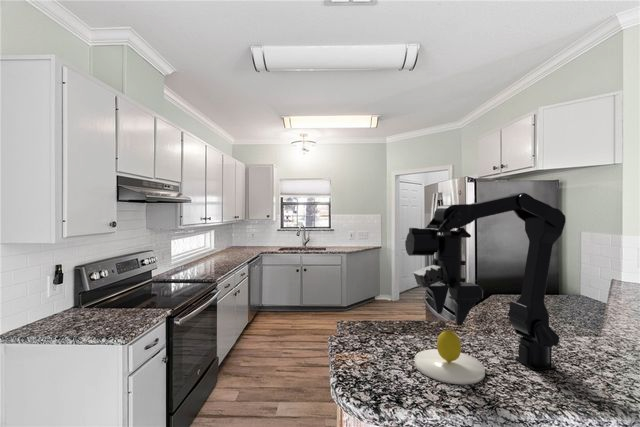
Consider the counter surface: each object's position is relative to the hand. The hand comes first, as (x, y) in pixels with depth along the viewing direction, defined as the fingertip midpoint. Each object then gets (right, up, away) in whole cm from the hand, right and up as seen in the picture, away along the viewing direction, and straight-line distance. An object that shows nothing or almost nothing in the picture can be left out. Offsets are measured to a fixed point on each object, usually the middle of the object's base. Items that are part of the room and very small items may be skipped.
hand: (448, 319), depth 80 cm
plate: (0, -12, 0) cm, 12 cm away
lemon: (0, -11, 0) cm, 11 cm away
